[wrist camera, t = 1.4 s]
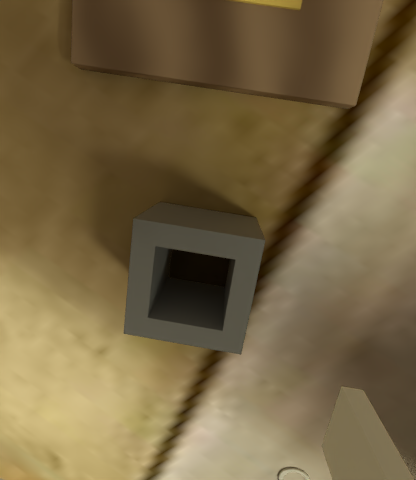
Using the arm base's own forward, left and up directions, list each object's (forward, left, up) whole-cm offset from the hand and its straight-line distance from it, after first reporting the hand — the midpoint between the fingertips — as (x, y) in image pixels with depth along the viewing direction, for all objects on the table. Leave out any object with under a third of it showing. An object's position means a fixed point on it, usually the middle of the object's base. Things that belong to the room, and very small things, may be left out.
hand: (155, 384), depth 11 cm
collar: (0, 0, -15) cm, 15 cm away
